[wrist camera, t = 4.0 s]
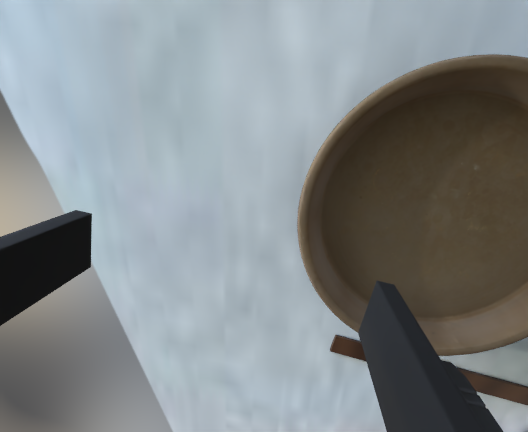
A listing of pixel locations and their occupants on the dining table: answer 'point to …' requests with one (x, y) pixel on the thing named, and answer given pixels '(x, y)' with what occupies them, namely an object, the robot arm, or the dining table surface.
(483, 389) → the walnut ruler
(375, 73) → the dining table surface
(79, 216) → the robot arm
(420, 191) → the plant saucer
